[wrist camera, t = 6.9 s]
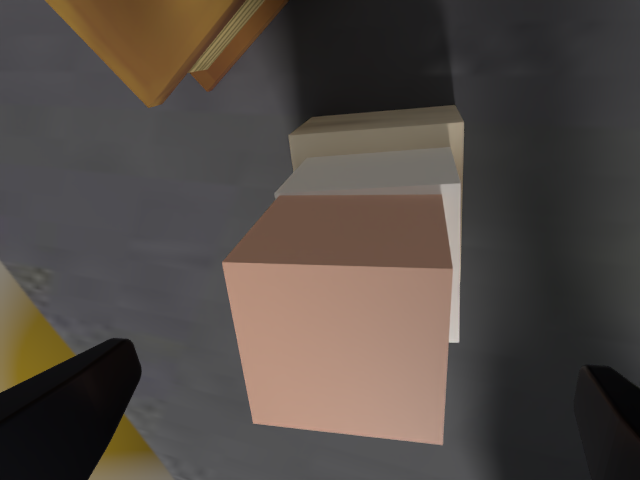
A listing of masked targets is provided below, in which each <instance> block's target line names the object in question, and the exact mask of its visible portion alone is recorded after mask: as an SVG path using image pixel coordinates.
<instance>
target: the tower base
mask: <svg viewBox="0 0 640 480" xmlns="http://www.w3.org/2000/svg"><path fill="white" fill-rule="evenodd" d="M288 137H289V144H290V151H291V158H292V165H293V172H294V171H295V170H296V169H297V168H298V167H299V166H300V165H301V164H302V163H303V161H304V160H305V159H306V158H308V157H322V156H335V155H348V154H362V153H375V152H388V151H402V150H415V149H429V148H442V147H451V150H452V154H453V158H454V161H455V165H456V168H457V172H458V175H459V179H460V183H461V200H460V268H461V228H462V187H463V146H464V121H463V119H462V117H461V115H460V113H459V111H458V110H457V108H456V106H455V105H448V106H437V107H425V108H413V109H401V110H389V111H378V112H366V113H354V114H342V115H330V116H318V117H311V118H310V119H309V120H307V121H306V122H305V123H304V124H302V125H301V126H300V127H298V128H297V129H296V130H295V131H293V132H292V133H291V134H289V135H288Z"/></svg>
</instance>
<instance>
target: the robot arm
mask: <svg viewBox="0 0 640 480" xmlns="http://www.w3.org/2000/svg"><path fill="white" fill-rule="evenodd" d="M141 372H142V370H141V365H140V362H139V359H138V356H137V353H136V350H135V347H134V345H133V343H132V342H131V340H129V339H122V338H112V339H109V340H107V341H105V342H103V343H101V344H99V345H97V346H95V347H93V348H91V349H89V350H87V351H85V352H83V353H80V354H78V355H76V356H74V357H72V358H70V359H68V360H66V361H64V362H62V363H60V364H58V365H56V366H54V367H52V368H50V369H48V370H46V371H44V372H42V373H40V374H38V375H36V376H34V377H32V378H30V379H28V380H26V381H24V382H22V383H20V384H17V385H15V386H13V387H12V388H10V389H8V390H5V391H3V392H1V393H0V480H88V479H89V477H90V475H91V474H92V472H93V470H94V469H95V467H96V465H97V464H98V462H99V460H100V459H101V457H102V455H103V453H104V452H105V450H106V448H107V446H108V444H109V442H110V441H111V439H112V437H113V434H114V433H115V431H116V428H117V427H118V424H119V422H120V420H121V418H122V416H123V414H124V412H125V410H126V408H127V406H128V403H129V401H130V399H131V397H132V395H133V393H134V391H135V389H136V387H137V385H138V382H139V380H140V378H141ZM574 412H575V416H576V420H577V424H578V428H579V432H580V436H581V439H582V443H583V447H584V451H585V455H586V459H587V463H588V467H589V471H590V474H591V478H592V480H640V388H638V387H637V386H636V385H634V384H633V383H632V382H630V381H629V380H627V379H626V378H625V377H623V376H622V375H621V374H619V373H618V372H617V371H615V370H614V369H612V368H611V367H608V366H600V365H584V366H582V367H581V369H580V372H579V376H578V382H577V387H576V392H575V397H574Z"/></svg>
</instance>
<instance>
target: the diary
mask: <svg viewBox="0 0 640 480" xmlns="http://www.w3.org/2000/svg"><path fill="white" fill-rule="evenodd" d="M45 1H46V2H47V3H48V4H49V5H50V6H51V7H52V8H53V9H54V10H55V11H56V12H57V13H58V14H59V15H60V16H61V17H62V19H63V20H64V21H65V22H66V23H67V24H68V25H69V26H70V27H71V28H72V29H73V30H74V31H75V32H76V33H77V34H78V35H79V36H80V37H81V38H82V39H83V40H84V41H85V42H86V43H87V45H88V46H89V47H90V48H91V49H92V50H93V51H94V52H95V53H96V54H97V55H98V56H99V57H100V58H101V59H102V60H103V61H104V62H105V63H106V64H107V65H108V66H109V67H110V68H111V69H112V71H113V72H114V73H115V74H116V75H117V76H118V77H119V78H120V79H121V80H122V81H123V82H124V83H125V84H126V85H127V86H128V87H129V88H130V89H131V90H132V91H133V92H134V93H135V94H136V95H137V96H138V98H139V99H140V100H141V101H142V102H143V103H144V104H145V105H146V106H147V107H148V108H150V107H153V106H157V105H161V104H163V103H164V101H165V100H166V99H167V98H168V96H169V95H170V94H171V93H172V91H173V90H174V89H175V88H176V86H177V85H178V84H179V83H180V82H181V80H182V79H183V78H184V77H185V75H186V74H187V73H190V74H191V75H192V76H193V77H194V78H195V79H196V80H197V81H198V82H199V83H200V84H201V86H202V87H203V88H204V89H205V90H206V91H207V92H208V91H212V89H213V88H214V87H215V86H216V85H217V84H218V82H219V81H220V80H221V79H222V78H223V77H224V76H225V74H226V73H227V72H228V71H229V70H230V69H231V67H232V66H233V65H234V64H235V63H236V62H237V60H238V59H239V58H240V57H241V56H242V55H243V54H244V52H245V51H246V50H247V49H248V48H249V47H250V45H251V44H252V43H253V42H254V41H255V40H256V38H257V37H258V36H259V35H260V34H261V33H262V32H263V30H264V29H265V28H266V27H267V26H268V25H269V23H270V22H271V21H272V20H273V19H274V18H275V17H276V15H277V14H278V13H279V12H280V11H281V10H282V8H283V7H284V6H285V5H286V4H287V3H288V1H289V0H45Z"/></svg>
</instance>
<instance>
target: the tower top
mask: <svg viewBox="0 0 640 480" xmlns="http://www.w3.org/2000/svg"><path fill="white" fill-rule="evenodd" d="M427 194H442V199H443V205H444V212H445V219H446V226H447V232H448V239H449V246H450V252H451V259H452V266H453V277H452V294H451V311H450V328H449V342H451V343H459V306H460V200H461V183H460V179H459V175H458V172H457V168H456V165H455V161H454V158H453V154H452V150H451V147H442V148H429V149H415V150H402V151H388V152H375V153H362V154H348V155H335V156H322V157H308V158H306V159H305V160H304V161H303V163H302V164H301V165H300V166H299V167H298V168H297V169H296V170H295V171H294V172H293V173H292V175H291V176H290V177H289V178H288V179H287V180H286V181H285V182H284V183H283V184H282V186H281V187H280V188H279V189H278V190H277V191H276V192H275V193H274V195H275V200H276V199H277V198H278V196H279V195H427Z"/></svg>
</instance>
